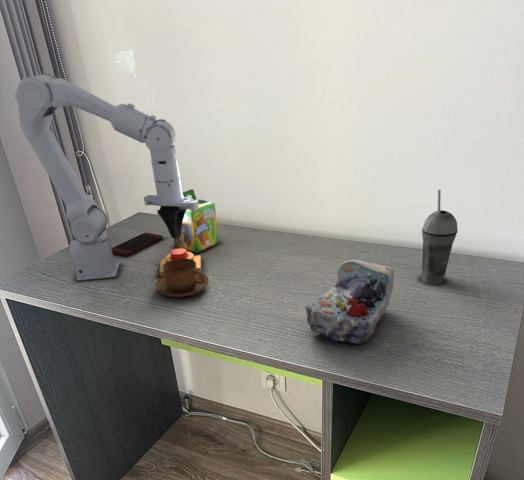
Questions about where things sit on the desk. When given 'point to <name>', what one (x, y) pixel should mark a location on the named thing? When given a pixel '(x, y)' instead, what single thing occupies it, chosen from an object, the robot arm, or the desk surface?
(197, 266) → the box
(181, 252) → the button
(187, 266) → the cup and saucer
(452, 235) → the beverage cup
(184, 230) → the chalk box
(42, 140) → the robot arm
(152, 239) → the smartphone
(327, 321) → the cell model
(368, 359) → the desk surface
